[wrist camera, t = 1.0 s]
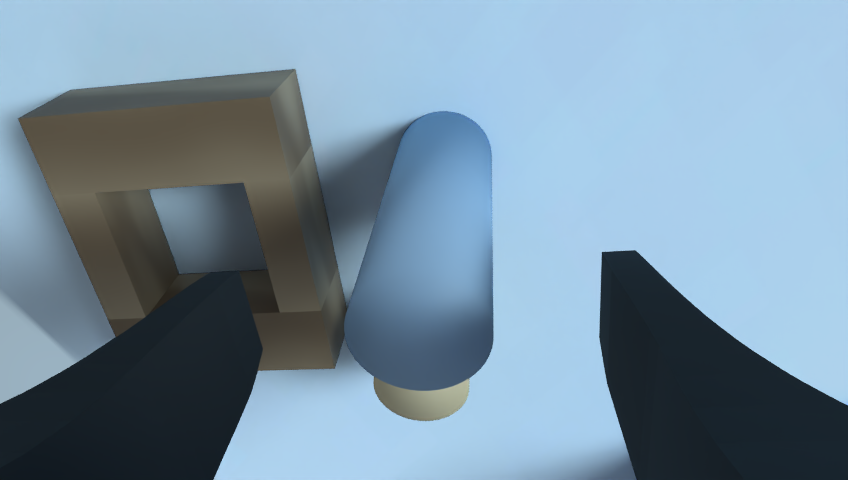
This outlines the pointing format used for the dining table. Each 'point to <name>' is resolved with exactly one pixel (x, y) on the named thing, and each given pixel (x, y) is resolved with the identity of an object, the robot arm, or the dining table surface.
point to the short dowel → (422, 400)
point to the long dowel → (429, 261)
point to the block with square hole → (195, 166)
